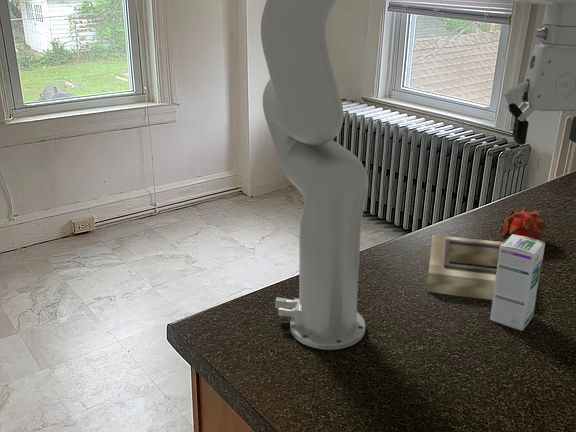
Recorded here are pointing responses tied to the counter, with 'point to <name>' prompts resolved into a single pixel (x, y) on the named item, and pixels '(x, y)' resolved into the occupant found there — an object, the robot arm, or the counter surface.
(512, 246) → the syrup box
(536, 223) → the dragon fruit
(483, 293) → the socket block
